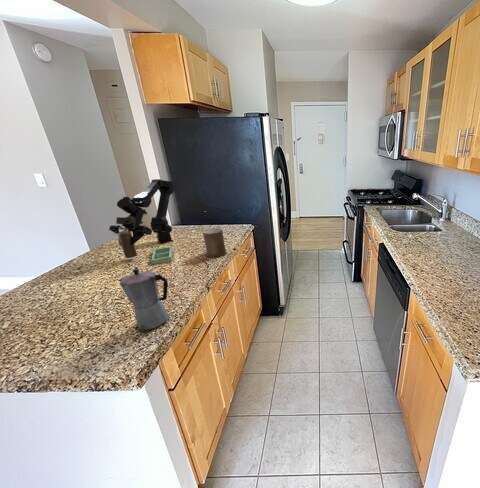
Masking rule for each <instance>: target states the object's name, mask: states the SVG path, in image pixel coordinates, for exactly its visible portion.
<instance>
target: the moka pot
mask: <svg viewBox="0 0 480 488" xmlns="http://www.w3.org/2000/svg"><path fill="white" fill-rule="evenodd" d="M132 272H133V273H131V274H129V275H124V276H122V277H120V278H119V279H118V280H117V282H119V285H120V287H121V288H122V290H123V292H124V293H125V295H126V297H127V299H128V300H129V302H130V303H131V304H132V305H133V307H134V308H133V309H134V314H135V319H136V325H137V328H138V329H140V330H142V331H146V330H147V331H148V330H152V329H155V328H158V327H160V326H162V325H163V324H164V323H166V322H167V321H168V319H169V314H168V312H167V310H166V308H165V306H164V305H163V302H162V301H165V300H167V299H168V298H167V297H168V288H169V283H168V282H169V281H168V279H167V278H166V277H165V276H162V275H161V274H160V273H159V274H156V271H152V270H151V271H150V270H144V271H140V270H139V269H138V268H135V269H132ZM158 281H163V285H162V286H163V288H162V291H163V292H162V293H163V294H162V297H160V296H159V285H158Z"/></svg>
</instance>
